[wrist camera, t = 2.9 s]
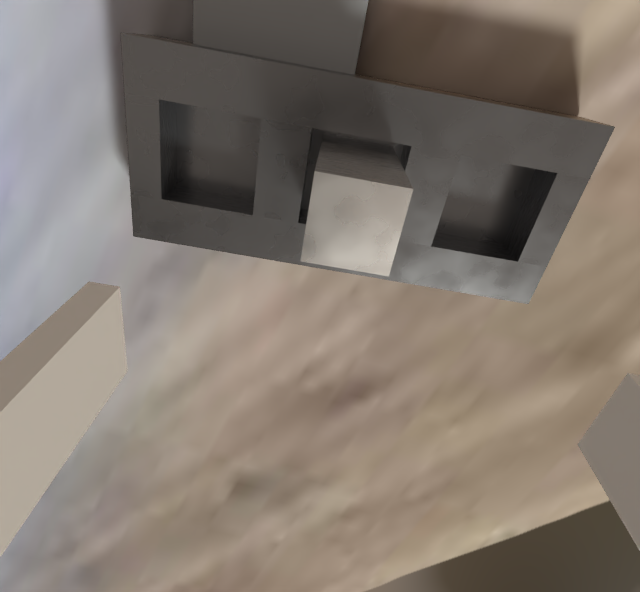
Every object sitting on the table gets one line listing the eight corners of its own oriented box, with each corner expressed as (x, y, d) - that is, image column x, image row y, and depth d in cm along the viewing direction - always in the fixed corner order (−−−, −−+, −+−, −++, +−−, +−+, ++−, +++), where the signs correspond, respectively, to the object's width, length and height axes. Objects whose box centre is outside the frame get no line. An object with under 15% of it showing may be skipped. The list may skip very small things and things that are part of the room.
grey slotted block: (155, 216, 32) (133, 236, 29) (149, 35, 26) (120, 32, 23) (509, 277, 34) (528, 304, 30) (581, 117, 27) (615, 126, 24)
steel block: (312, 200, 30) (300, 261, 22) (323, 133, 28) (314, 171, 19) (376, 211, 30) (388, 276, 22) (392, 146, 28) (413, 188, 19)
